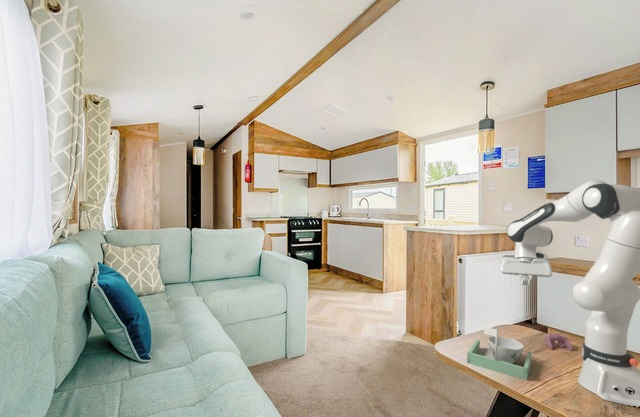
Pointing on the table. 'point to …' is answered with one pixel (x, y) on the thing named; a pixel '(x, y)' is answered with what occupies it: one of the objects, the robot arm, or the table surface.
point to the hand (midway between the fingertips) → (525, 284)
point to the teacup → (506, 349)
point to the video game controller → (561, 341)
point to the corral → (496, 364)
